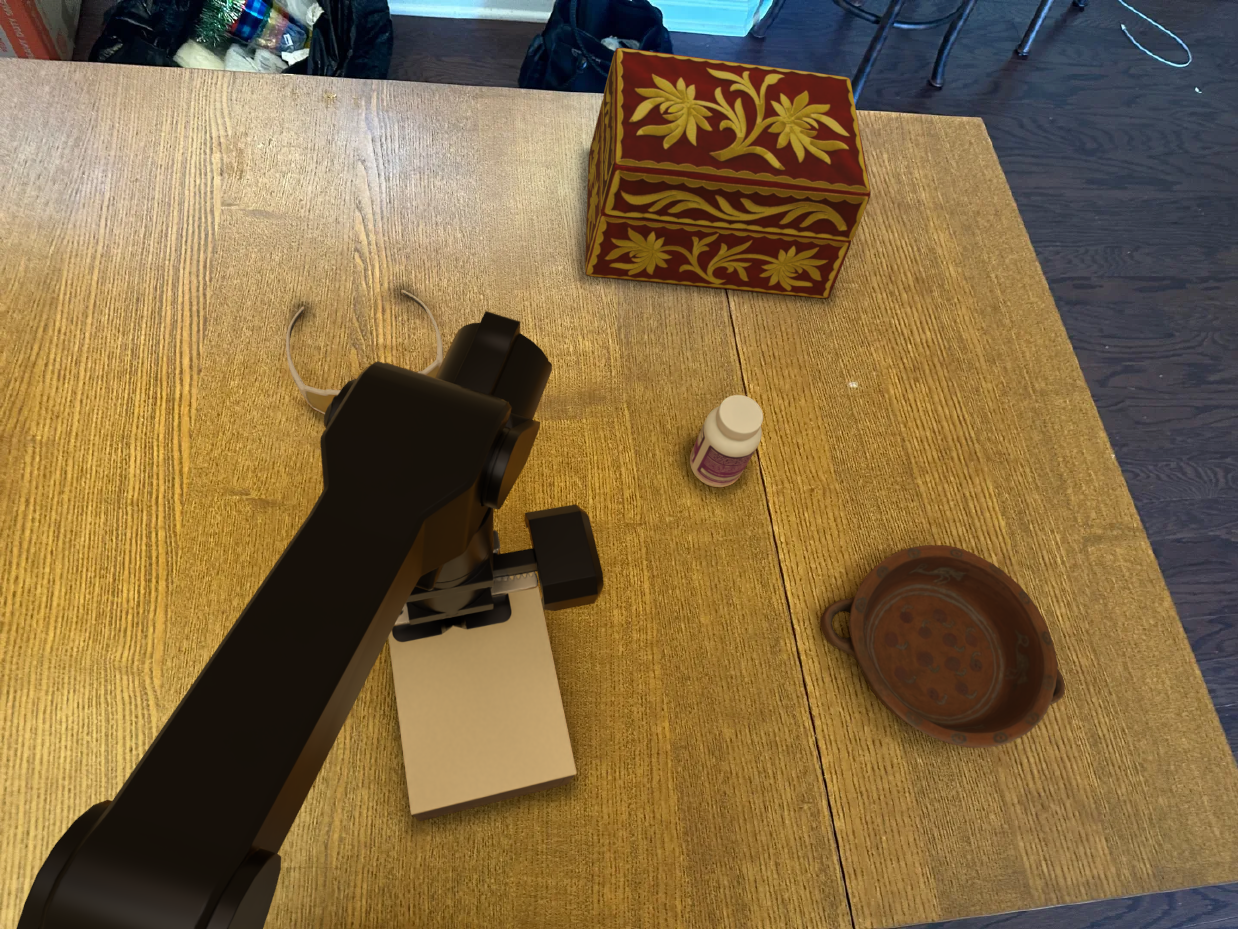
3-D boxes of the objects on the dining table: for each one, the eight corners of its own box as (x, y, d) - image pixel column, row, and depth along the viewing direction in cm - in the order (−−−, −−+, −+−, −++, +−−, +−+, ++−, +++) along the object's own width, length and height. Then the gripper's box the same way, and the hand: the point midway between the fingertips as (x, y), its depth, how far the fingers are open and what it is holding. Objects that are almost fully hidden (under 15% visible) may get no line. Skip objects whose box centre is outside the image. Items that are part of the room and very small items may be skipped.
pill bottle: (752, 474, 79) (783, 425, 71) (709, 497, 77) (735, 450, 69) (721, 431, 81) (748, 378, 72) (677, 453, 79) (700, 402, 70)
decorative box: (584, 277, 87) (600, 169, 74) (588, 153, 96) (603, 37, 83) (829, 300, 91) (886, 201, 77) (811, 179, 99) (860, 71, 86)
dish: (821, 536, 77) (841, 515, 73) (1043, 594, 77) (1076, 577, 73) (802, 720, 69) (823, 709, 64) (1050, 784, 69) (1088, 778, 65)
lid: (384, 600, 62) (383, 598, 61) (534, 573, 64) (535, 569, 64) (411, 815, 56) (410, 815, 55) (575, 774, 58) (576, 773, 58)
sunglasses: (306, 442, 74) (293, 408, 70) (285, 327, 82) (273, 290, 78) (459, 410, 78) (456, 375, 74) (426, 302, 85) (420, 266, 81)
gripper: (576, 384, 49) (557, 495, 62) (246, 427, 44) (303, 536, 58) (621, 554, 44) (590, 634, 58) (256, 621, 40) (316, 690, 53)
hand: (451, 618), depth 57 cm, fingers closed
